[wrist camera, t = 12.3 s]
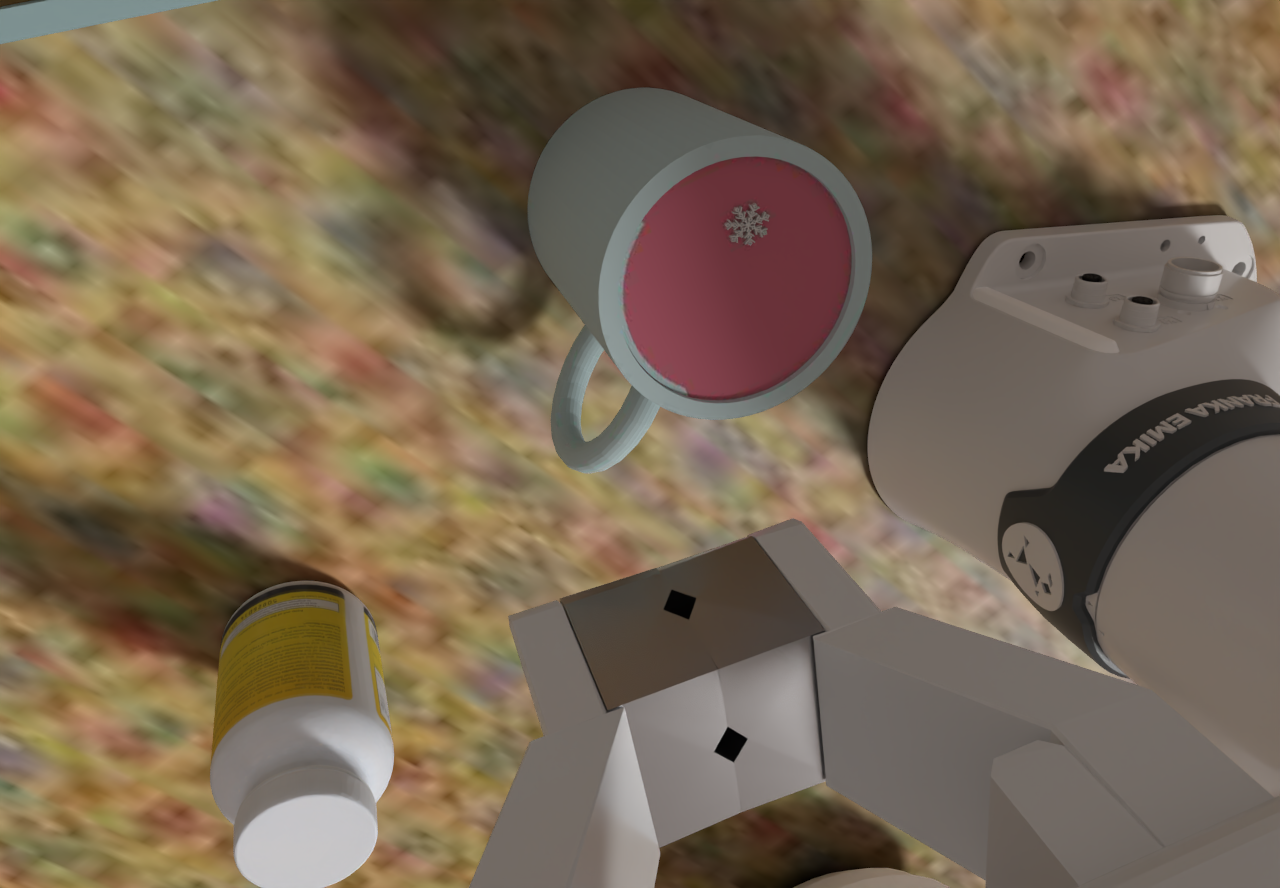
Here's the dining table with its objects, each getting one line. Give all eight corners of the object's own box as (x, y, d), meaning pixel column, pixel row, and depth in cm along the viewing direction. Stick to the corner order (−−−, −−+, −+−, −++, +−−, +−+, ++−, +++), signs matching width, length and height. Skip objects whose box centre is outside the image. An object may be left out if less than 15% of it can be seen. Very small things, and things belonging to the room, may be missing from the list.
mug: (604, 38, 35) (704, 72, 27) (788, 163, 39) (924, 226, 31) (431, 355, 38) (472, 474, 30) (619, 437, 43) (700, 561, 34)
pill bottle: (190, 615, 40) (160, 834, 30) (335, 549, 41) (351, 742, 31) (269, 714, 44) (265, 939, 34) (401, 651, 44) (433, 854, 35)
